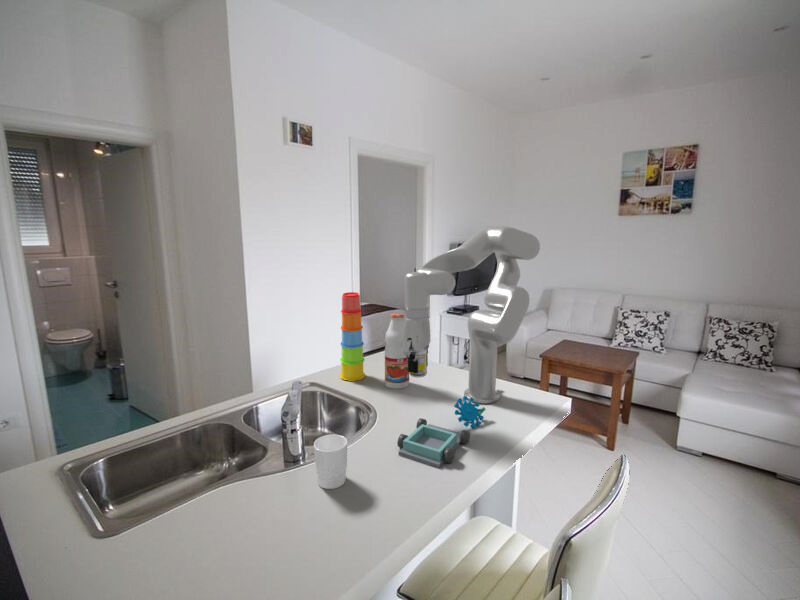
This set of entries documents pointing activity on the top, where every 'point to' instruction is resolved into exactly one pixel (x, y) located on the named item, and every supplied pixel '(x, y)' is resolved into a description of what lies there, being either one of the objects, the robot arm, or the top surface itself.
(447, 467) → the top surface
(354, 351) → the stacking cups
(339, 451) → the white cup
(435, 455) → the chassis
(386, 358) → the fruit juice
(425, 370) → the supplement bottle
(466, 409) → the gear
